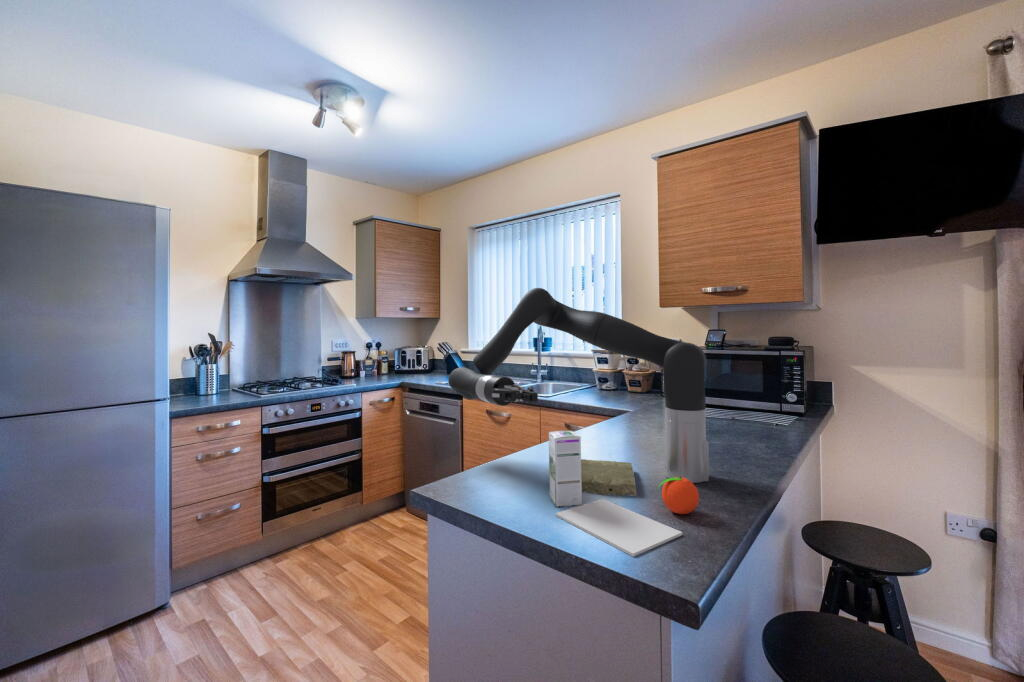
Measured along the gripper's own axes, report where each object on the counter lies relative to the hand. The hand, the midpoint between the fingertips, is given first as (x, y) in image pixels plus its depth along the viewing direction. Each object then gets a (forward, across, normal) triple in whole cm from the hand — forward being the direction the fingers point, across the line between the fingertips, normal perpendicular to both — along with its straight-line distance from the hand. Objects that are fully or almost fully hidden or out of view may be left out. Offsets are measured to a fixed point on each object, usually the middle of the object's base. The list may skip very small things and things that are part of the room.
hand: (535, 397), depth 99 cm
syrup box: (+10, 0, +21) cm, 23 cm away
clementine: (+28, +14, +21) cm, 37 cm away
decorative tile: (+4, +14, +22) cm, 26 cm away
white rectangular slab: (+24, 0, +21) cm, 32 cm away
